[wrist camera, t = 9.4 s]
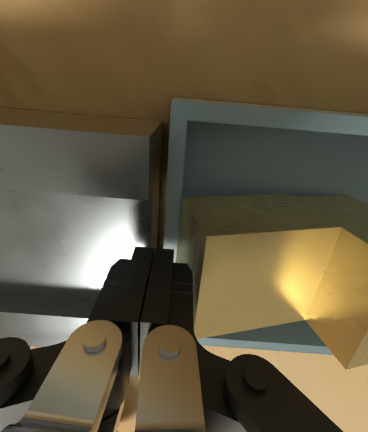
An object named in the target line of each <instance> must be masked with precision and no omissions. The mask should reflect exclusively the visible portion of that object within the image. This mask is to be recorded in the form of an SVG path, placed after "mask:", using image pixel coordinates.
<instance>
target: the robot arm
mask: <svg viewBox="0 0 368 432" xmlns="http://www.w3.org/2000/svg"><path fill="white" fill-rule="evenodd" d="M173 261H174V249H163V248H156V249H155V248H149V247H135V249H134V251H133V254H132V257H131V259H119V260H118V261H117V262H116V263H114V264H113V265H112V266H111V267H110V270H109V272H108V274H107V277H106V279H105V281H104V284H103V287H102V288H101V291H100V293H99V295H98V297H97V300H96V302H95V304H94V307H93V309H92V311H91V314H90V316H89V318H88V321H87V323H85V324H83V325H81V326H80V327H78V328H77V329H76V330H74V332H73V333H72V334H71V335H70V337H69V338H68V340H66V341H64V342H61V343H58V344H55V345H50V346H45V347H41V348H36V349H31V350H30V347H29V345H28V343H27V342H26V341H25V340H23V339H21V338H17V337H6V338H1V339H0V432H117V429H118V425H119V422H120V418H121V415H122V411H123V407H124V401H125V395H126V391H127V386H128V381H129V377H138V373H139V367H140V382H139V393H138V404H137V415H136V426H135V432H343V431H342V430H341V429H340V428H339V427H338V426H337V425H336V424H335V423H333V422H332V421H331V420H330V419H329V418H328V417H327V416H326V415H325V414H324V413H323V412H322V411H321V410H320V409H319V408H318V407H317V406H316V405H314V404H313V403H312V402H311V401H310V400H309V399H308V398H307V397H306V396H305V395H304V394H303V393H302V392H301V391H300V390H299V389H298V388H297V387H295V386H294V385H293V384H292V383H291V382H290V381H289V380H288V379H287V378H286V377H285V376H284V375H283V374H282V373H281V372H280V371H279V370H278V369H276V368H275V367H274V366H273V365H272V364H271V363H270V362H268V361H267V360H265V359H264V358H261V357H259V356H256V355H251V354H244V355H240V356H237V357H235V358H234V359H233V360H232V361H229V360H226V359H224V358H221V357H219V356H216V355H214V354H212V353H210V352H208V351H207V350H206V349H204V348H203V347H202V346H201V345H200V343H199V342H198V340H197V339H196V336H195V333H194V319H193V272H192V271H191V269H190V268H189V266H188V264H187V263H174V262H173Z"/></svg>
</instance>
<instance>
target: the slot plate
mask: <svg viewBox="0 0 368 432" xmlns="http://www.w3.org/2000/svg"><path fill="white" fill-rule="evenodd" d="M161 140H162V121H155V120H144V119H132V118H120V117H108V116H97V115H85V114H73V113H61V112H50V111H38V110H26V109H15V108H3V107H0V339H1V338H6V337H17V338H21V339H23V340H25V341H26V342H27V343H28V345H29V346H35V347H45V346H50V345H55V344H58V343H61V342H64V341H66V340H68V338H69V337H70V335H71V334H72V333H73V332H74V330H76V329H77V328H78V327H80V326H81V325H83V324H85V323H87V321H88V318H89V316H90V314H91V311H92V309H93V307H94V304H95V302H96V300H97V297H98V295H99V293H100V291H101V288H102V287H103V284H104V281H105V279H106V277H107V274H108V272H109V270H110V267H111V266H112V265H113V264H114V263H116V262H117V261H118V260H119V259H131V257H132V254H133V251H134V249H135V247H149V248H155V249H156V248H157V242H158V217H159V191H160V166H161Z"/></svg>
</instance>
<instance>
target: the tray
mask: <svg viewBox="0 0 368 432" xmlns="http://www.w3.org/2000/svg"><path fill="white" fill-rule="evenodd" d="M284 194H291V195H292V196H294V197H296V196H328V195H349V196H351V197H353V198H355V199H357V200H359V201H361V202H363V203H365V204H367V205H368V114H364V113H352V112H340V111H329V110H317V109H306V108H294V107H283V106H271V105H260V104H248V103H236V102H225V101H213V100H202V99H190V98H179V97H175V98H173V99H172V100H171V110H170V130H169V149H168V169H167V188H166V208H165V227H164V246H163V249H174V261H173V262H174V263H177V251H178V239H179V226H180V214H181V202H182V197H212V196H248V195H284ZM197 340H198V342H199V343H200V345H206V346H219V347H233V348H246V349H260V350H273V351H287V352H300V353H314V354H328V355H333V353H332V352H331V351H330V350H329V348H328V347H327V346H326V345H325V344H324V342H323V341H322V340H321V339H320V338H319V336H318V335H317V334H316V333H315V331H314V330H313V329H312V328H311V327H310V325H309V324H308V323H307V322H306V321H305V320H302V321H297V322H291V323H285V324H280V325H274V326H269V327H263V328H257V329H252V330H246V331H240V332H235V333H229V334H224V335H218V336H212V337H207V338H201V339H197Z"/></svg>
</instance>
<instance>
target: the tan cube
mask: <svg viewBox="0 0 368 432" xmlns="http://www.w3.org/2000/svg"><path fill="white" fill-rule="evenodd" d="M295 198H297V199H299V200H300V201H302V202H303V203H305V204H307V205H308V206H310V207H311V208H313V209H315V210H316V211H318V212H319V213H321V214H323V215H324V216H326V217H327V218H329V219H330V220H332V221H334V222H335V223H337V224H338V225H340V226H342V229H341V231H340V234H339V237H338V239H337V242H336V244H335V247H334V249H333V252H332V254H331V257H330V259H329V262H328V264H327V267H326V269H325V272H324V275H323V277H322V280H321V282H320V285H319V287H318V290H317V292H316V295H315V297H314V300H313V302H312V305H311V307H310V310H309V313H308V315H307V318H306V320H305V321H306V322H307V323H308V324H309V325H310V327H311V328H312V329H313V330H314V331H315V333H316V334H317V335H318V336H319V338H320V339H321V340H322V341H323V342H324V344H325V345H326V346H327V347H328V348H329V350H330V351H331V352H332V353H333V355H334V356H335V357H336V358H337V359H338V361H339V362H340V363H341V364H342V365H343V367H344V368H345V369H350V368H354V367H358V366H362V365H366V364H368V205H367V204H365V203H363V202H361V201H359V200H357V199H355V198H353V197H351V196H349V195H328V196H296V197H295Z"/></svg>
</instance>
